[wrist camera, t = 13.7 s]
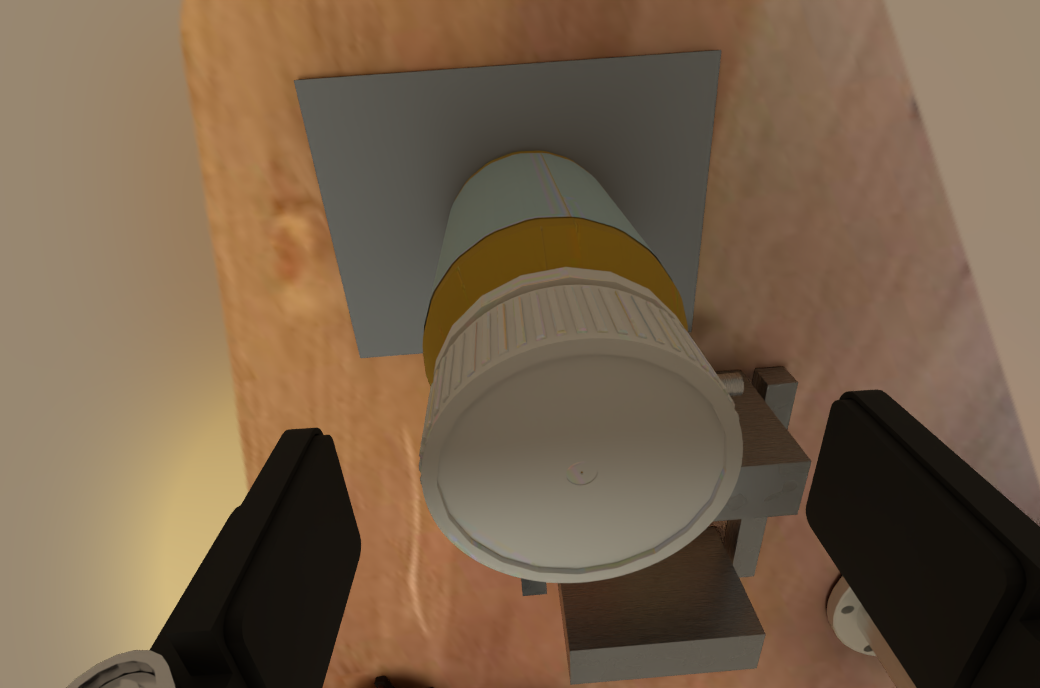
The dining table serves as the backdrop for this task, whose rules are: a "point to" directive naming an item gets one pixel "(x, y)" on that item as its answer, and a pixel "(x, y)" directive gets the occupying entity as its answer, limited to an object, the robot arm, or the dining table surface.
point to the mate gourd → (384, 682)
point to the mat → (487, 136)
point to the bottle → (565, 385)
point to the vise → (695, 565)
